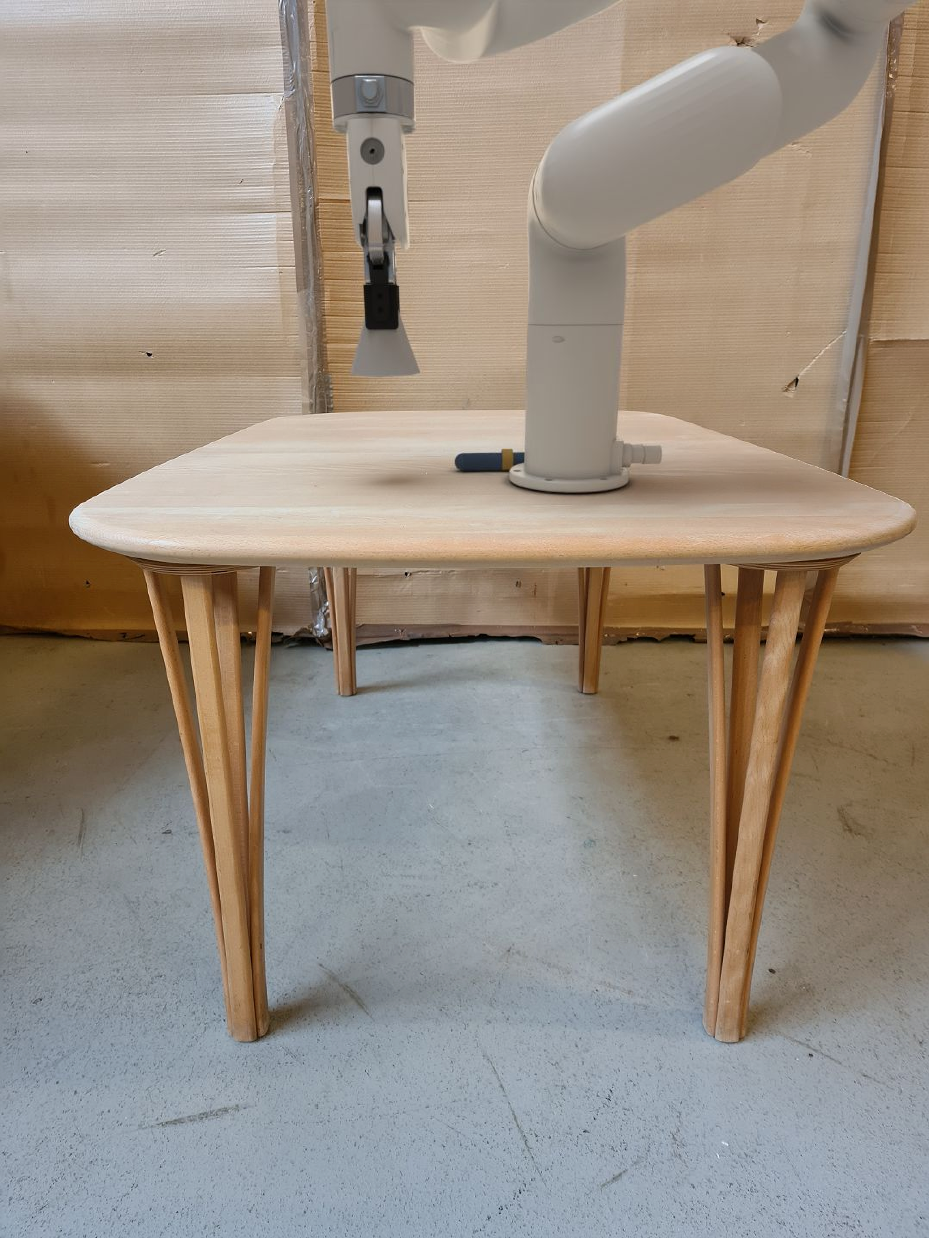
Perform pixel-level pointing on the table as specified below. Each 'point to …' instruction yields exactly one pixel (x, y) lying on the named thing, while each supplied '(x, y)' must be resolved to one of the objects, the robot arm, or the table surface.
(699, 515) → the table surface
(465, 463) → the dark blue marker
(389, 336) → the flask
